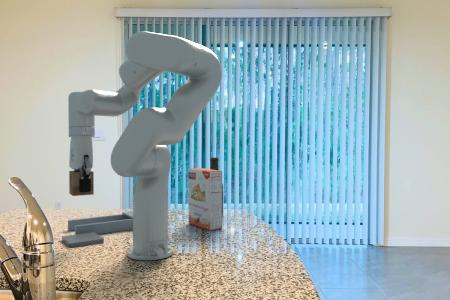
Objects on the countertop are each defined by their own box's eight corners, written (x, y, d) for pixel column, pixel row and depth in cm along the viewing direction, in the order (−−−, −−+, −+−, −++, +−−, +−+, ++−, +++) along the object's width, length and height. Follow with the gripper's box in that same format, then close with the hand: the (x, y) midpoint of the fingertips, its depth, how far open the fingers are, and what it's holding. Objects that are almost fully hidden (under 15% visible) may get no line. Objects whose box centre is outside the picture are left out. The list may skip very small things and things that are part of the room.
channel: (148, 227, 140) (147, 215, 140) (75, 237, 125) (75, 224, 125) (136, 221, 149) (136, 210, 149) (67, 230, 135) (67, 218, 134)
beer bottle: (202, 214, 163) (202, 157, 162) (219, 212, 166) (219, 157, 166) (209, 217, 156) (209, 158, 155) (226, 216, 159) (226, 157, 159)
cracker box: (187, 224, 145) (187, 168, 144) (200, 221, 148) (200, 167, 148) (208, 231, 134) (208, 170, 133) (222, 228, 137) (222, 170, 137)
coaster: (103, 242, 119) (103, 238, 119) (69, 247, 113) (69, 243, 113) (94, 235, 127) (94, 231, 127) (62, 240, 122) (62, 236, 122)
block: (93, 194, 119) (93, 171, 119) (72, 195, 116) (72, 172, 116) (89, 192, 124) (89, 170, 124) (69, 193, 121) (69, 170, 121)
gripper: (62, 132, 124) (62, 188, 125) (76, 132, 110) (76, 195, 111) (86, 132, 129) (86, 186, 129) (102, 132, 114) (102, 193, 115)
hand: (82, 190), depth 120 cm, fingers closed on block, 6 cm apart
